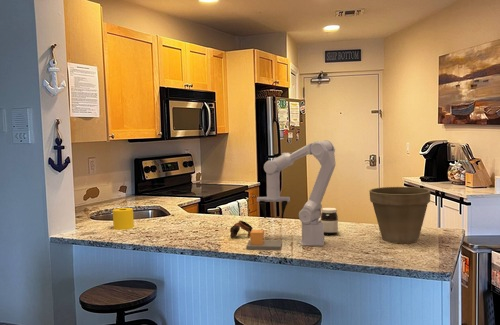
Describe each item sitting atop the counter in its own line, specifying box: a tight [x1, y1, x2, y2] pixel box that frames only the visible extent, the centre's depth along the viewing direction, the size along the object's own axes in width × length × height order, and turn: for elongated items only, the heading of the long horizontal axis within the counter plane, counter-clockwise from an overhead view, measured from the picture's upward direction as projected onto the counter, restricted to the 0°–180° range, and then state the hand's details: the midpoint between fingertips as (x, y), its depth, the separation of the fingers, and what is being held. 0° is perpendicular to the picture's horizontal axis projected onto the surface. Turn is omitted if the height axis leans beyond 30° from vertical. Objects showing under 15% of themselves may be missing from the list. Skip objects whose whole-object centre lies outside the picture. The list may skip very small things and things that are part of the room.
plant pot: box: [368, 186, 431, 244], centre depth 196 cm, size 25×25×22 cm
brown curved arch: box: [229, 220, 254, 238], centre depth 208 cm, size 12×10×8 cm
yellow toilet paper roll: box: [112, 207, 135, 231], centre depth 234 cm, size 10×10×9 cm
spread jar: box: [319, 207, 339, 237], centre depth 211 cm, size 12×11×12 cm
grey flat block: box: [245, 239, 283, 251], centre depth 190 cm, size 14×10×5 cm
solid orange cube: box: [249, 229, 265, 245], centre depth 190 cm, size 5×5×5 cm
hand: (273, 217), depth 203 cm, fingers open, 7 cm apart
